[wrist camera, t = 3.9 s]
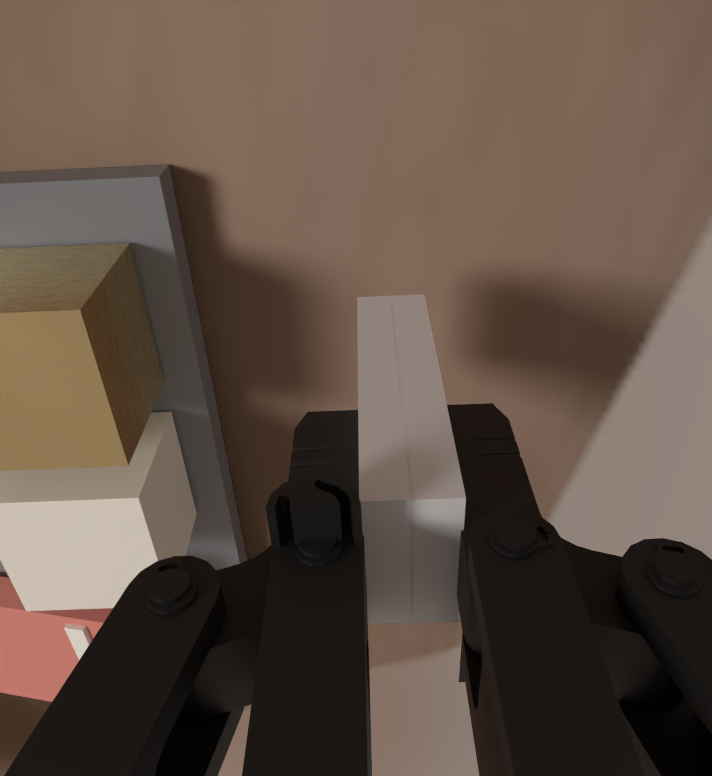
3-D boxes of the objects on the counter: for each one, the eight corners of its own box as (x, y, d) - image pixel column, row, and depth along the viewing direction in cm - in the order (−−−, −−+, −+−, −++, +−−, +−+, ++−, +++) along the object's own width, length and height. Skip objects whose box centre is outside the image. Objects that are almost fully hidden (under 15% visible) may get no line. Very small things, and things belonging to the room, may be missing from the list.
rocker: (-107, 560, 21) (-136, 589, 20) (121, 594, 19) (101, 627, 18) (-46, 654, 24) (-69, 683, 23) (157, 690, 22) (141, 723, 21)
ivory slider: (31, 417, 19) (-28, 504, 16) (171, 411, 18) (138, 498, 16) (71, 518, 21) (26, 611, 18) (196, 513, 21) (171, 605, 18)
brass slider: (-36, 250, 16) (-123, 318, 13) (129, 242, 16) (80, 309, 13) (19, 387, 18) (-45, 472, 15) (164, 382, 18) (128, 466, 15)
